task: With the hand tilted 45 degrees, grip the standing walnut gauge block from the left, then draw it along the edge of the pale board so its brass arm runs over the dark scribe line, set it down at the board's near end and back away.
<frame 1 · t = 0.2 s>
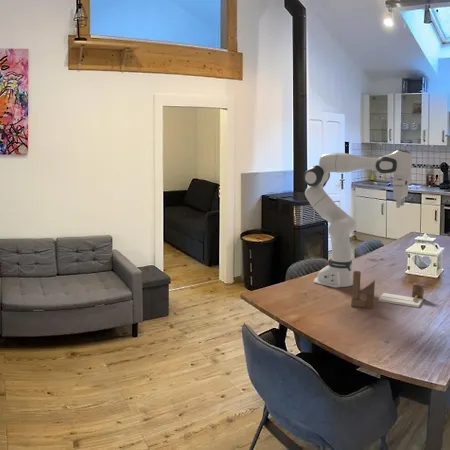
hand: (400, 206, 274), 48 cm above the table, tool pointing down, fingers open, 8 cm apart
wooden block: (362, 306, 261), on the table
board: (400, 301, 269), on the table
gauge: (417, 298, 272), on the table
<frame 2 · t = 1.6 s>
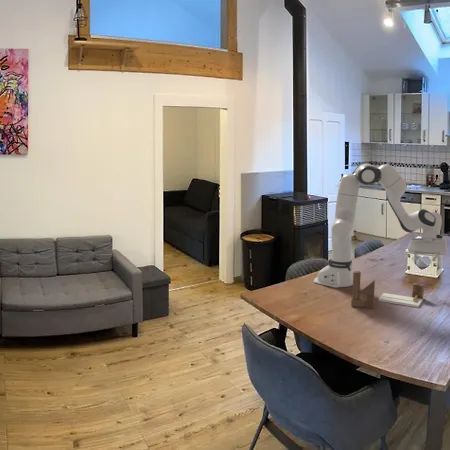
hand: (424, 260, 277), 19 cm above the table, tool tilted 45°, fingers open, 8 cm apart
nothing on the table moved.
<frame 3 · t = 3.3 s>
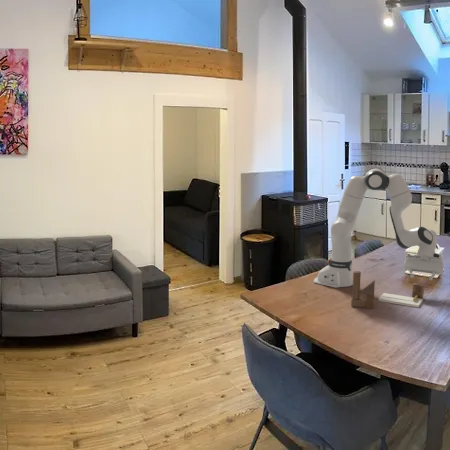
hand: (421, 278, 275), 10 cm above the table, tool tilted 45°, fingers open, 8 cm apart
nothing on the table moved.
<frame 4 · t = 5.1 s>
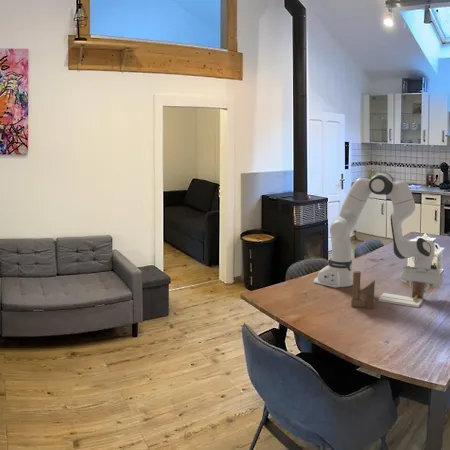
hand: (417, 290, 271), 5 cm above the table, tool tilted 45°, fingers closed on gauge, 5 cm apart
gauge: (417, 298, 272), on the table, touching gripper
everything else where it was.
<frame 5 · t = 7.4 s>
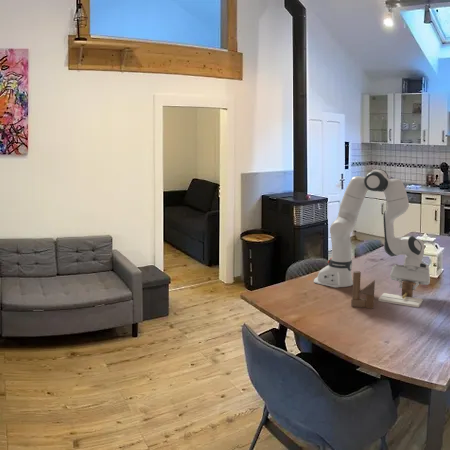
hand: (407, 288, 273), 5 cm above the table, tool tilted 45°, fingers closed on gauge, 5 cm apart
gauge: (407, 296, 275), on the table, touching gripper
everything else where it was.
when the fingers open (5 cm above the table, at t = 9.8 s): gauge stays where it is, on the table.
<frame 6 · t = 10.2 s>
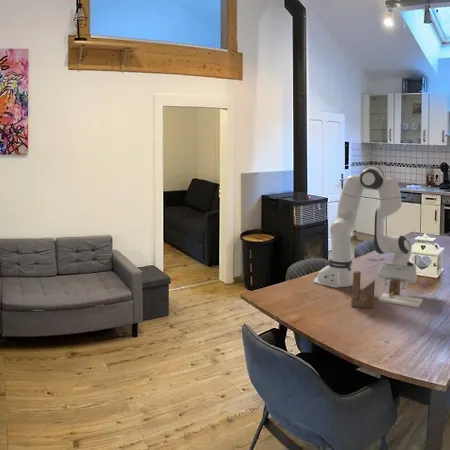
hand: (394, 287, 277), 5 cm above the table, tool tilted 45°, fingers open, 8 cm apart
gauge: (394, 295, 278), on the table
everything else where it was.
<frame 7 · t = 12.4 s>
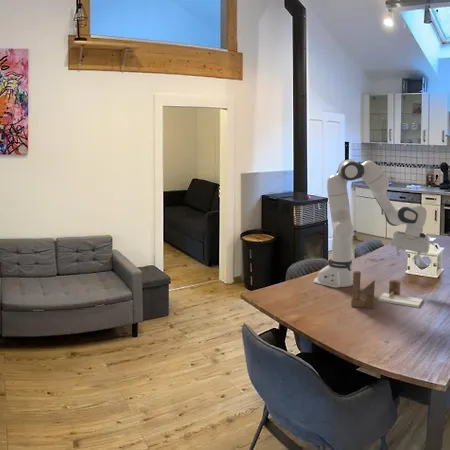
hand: (406, 257, 286), 18 cm above the table, tool tilted 25°, fingers open, 8 cm apart
nothing on the table moved.
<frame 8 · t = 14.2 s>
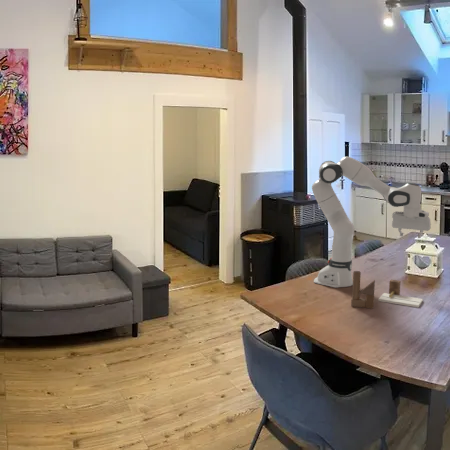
hand: (410, 237, 286), 29 cm above the table, tool pointing down, fingers open, 8 cm apart
nothing on the table moved.
at the end: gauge inside the target area (0.1 cm from its centre), on the table; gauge tilted 0°; the gripper is holding nothing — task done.
